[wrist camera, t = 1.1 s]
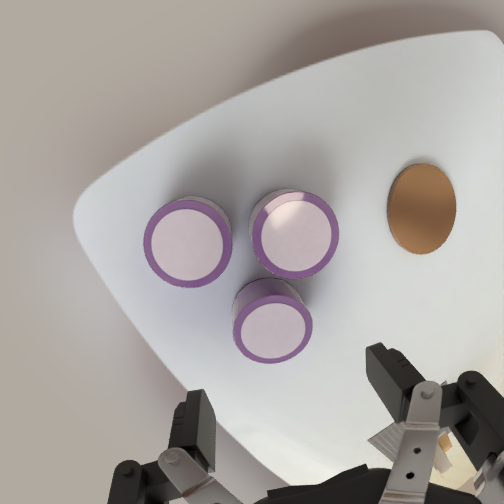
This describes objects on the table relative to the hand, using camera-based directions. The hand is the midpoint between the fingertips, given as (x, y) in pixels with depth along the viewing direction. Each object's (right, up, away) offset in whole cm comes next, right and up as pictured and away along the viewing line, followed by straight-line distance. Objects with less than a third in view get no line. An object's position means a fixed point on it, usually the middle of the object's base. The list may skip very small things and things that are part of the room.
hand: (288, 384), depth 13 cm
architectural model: (+21, -17, +15) cm, 31 cm away
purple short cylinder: (-1, +2, +8) cm, 8 cm away
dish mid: (+1, +8, +6) cm, 10 cm away
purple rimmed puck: (-6, +7, +6) cm, 11 cm away
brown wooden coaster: (+11, +10, +7) cm, 16 cm away
